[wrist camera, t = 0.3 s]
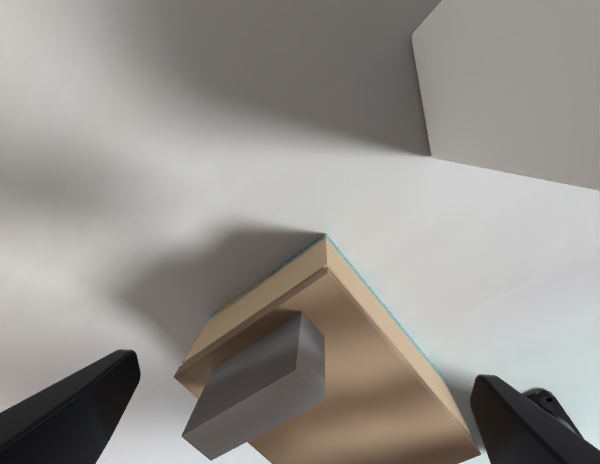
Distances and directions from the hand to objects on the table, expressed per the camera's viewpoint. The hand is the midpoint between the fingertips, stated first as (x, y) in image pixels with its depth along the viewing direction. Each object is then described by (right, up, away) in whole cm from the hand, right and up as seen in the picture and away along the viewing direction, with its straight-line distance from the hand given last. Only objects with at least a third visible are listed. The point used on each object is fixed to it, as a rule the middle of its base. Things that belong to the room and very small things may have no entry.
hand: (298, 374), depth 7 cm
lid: (+2, -8, +11) cm, 13 cm away
